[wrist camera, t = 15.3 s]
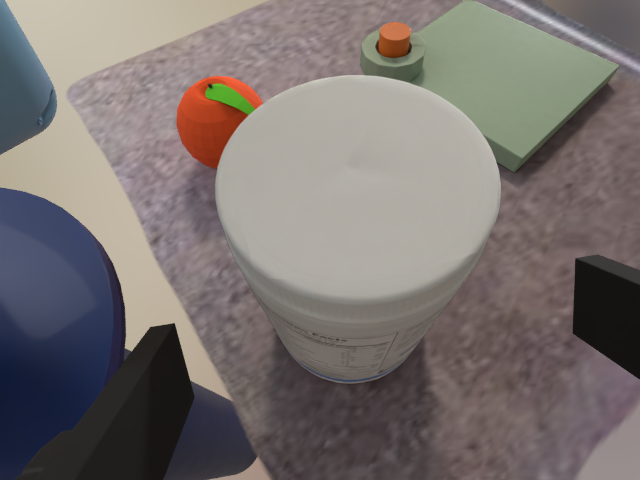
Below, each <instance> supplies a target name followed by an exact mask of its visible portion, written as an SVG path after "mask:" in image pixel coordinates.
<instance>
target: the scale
mask: <svg viewBox="0 0 640 480" xmlns="http://www.w3.org/2000/svg"><path fill="white" fill-rule="evenodd" d="M379 36H380V30H377V31H374V32H373V33H371V34H370V35H368V36H367V37H365V39H364V41H363V44H362V46H361V58H360V66H361V68H362V70H363V73H364V75H367V76H379V77H385V78H390V79H395V80H400V81H404V82H407V83H410V84H413V85H416V86H419V87H421V88H424V89H426V90H429V91H431V92H433V93H435V94H437V95H438V96H440V97H442V98H443V99H445V100H447V101H448V102H450V103H451V104H453V105H454V106H455V107H457V108H458V109H459V110H461V111H462V112H463V113H464V114H465V115H466V116H467V117H468V118H469V119H470V120H471V121H472V122H473V123H474V124H475V125H476V127H477V128H478V129H479V130H480V132H481V133H482V134H483V136H484V137H485V139H486V140H487V142H488V144H489V146H490V148H491V150H492V152H493V154H494V157H495V159H496V162H498V163H499V164H501V165H503V166H504V167H506V168H507V169H509V170H511V171H512V172H515V171H516V170H517V169H518V168H519V167H521V166H522V165H523V164H524V163H525V162H526V161H527V160H528V159H529V158H530V157H531V156H532V155H533V154H534V153H535V152H536V151H537V150H538V149H539V148H540V147H541V146H542V145H543V144H544V143H545V142H546V141H548V140H549V139H550V138H551V137H552V136H553V135H554V134H555V133H556V132H557V131H558V130H559V129H560V128H561V127H562V126H563V125H564V124H565V123H566V122H567V121H568V120H569V119H570V118H571V117H572V116H573V115H575V114H576V113H577V112H578V111H579V110H580V109H581V108H582V107H583V106H584V105H585V104H586V103H587V102H588V101H589V100H590V99H591V98H592V97H593V96H594V95H595V94H596V93H597V92H598V91H599V90H600V89H602V88H603V87H604V86H605V85H606V84H607V83H608V82H609V80H610V79H611V78H612V76H613V75H614V73H615V72H616V71H617V69H618V68H619V65H617V64H615V63H613V62H610V61H608V60H606V59H604V58H601V57H599V56H597V55H595V54H592V53H590V52H588V51H586V50H583V49H581V48H579V47H577V46H574V45H572V44H570V43H568V42H565V41H563V40H561V39H559V38H556V37H554V36H552V35H550V34H547V33H545V32H543V31H541V30H538V29H536V28H534V27H532V26H529V25H527V24H525V23H523V22H520V21H518V20H516V19H514V18H511V17H509V16H507V15H505V14H502V13H500V12H498V11H496V10H493V9H491V8H489V7H487V6H484V5H482V4H480V3H478V2H475V1H473V0H465V1H463V2H462V3H460V4H459V5H457V6H456V7H454V8H453V9H451V10H450V11H448V12H447V13H445V14H444V15H442V16H441V17H439V18H438V19H436V20H435V21H433V22H432V23H431V24H429V25H428V26H426V27H425V28H423V29H422V30H420V31H419V32H417V33H416V34H415V33H414V32H412V31H411V36H410V42H409V48H408V53H407V54H406V55H405V56H403V57H398V58H388V57H384V56H382V55H381V54H380V53H379V51H378V47H379Z"/></svg>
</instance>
